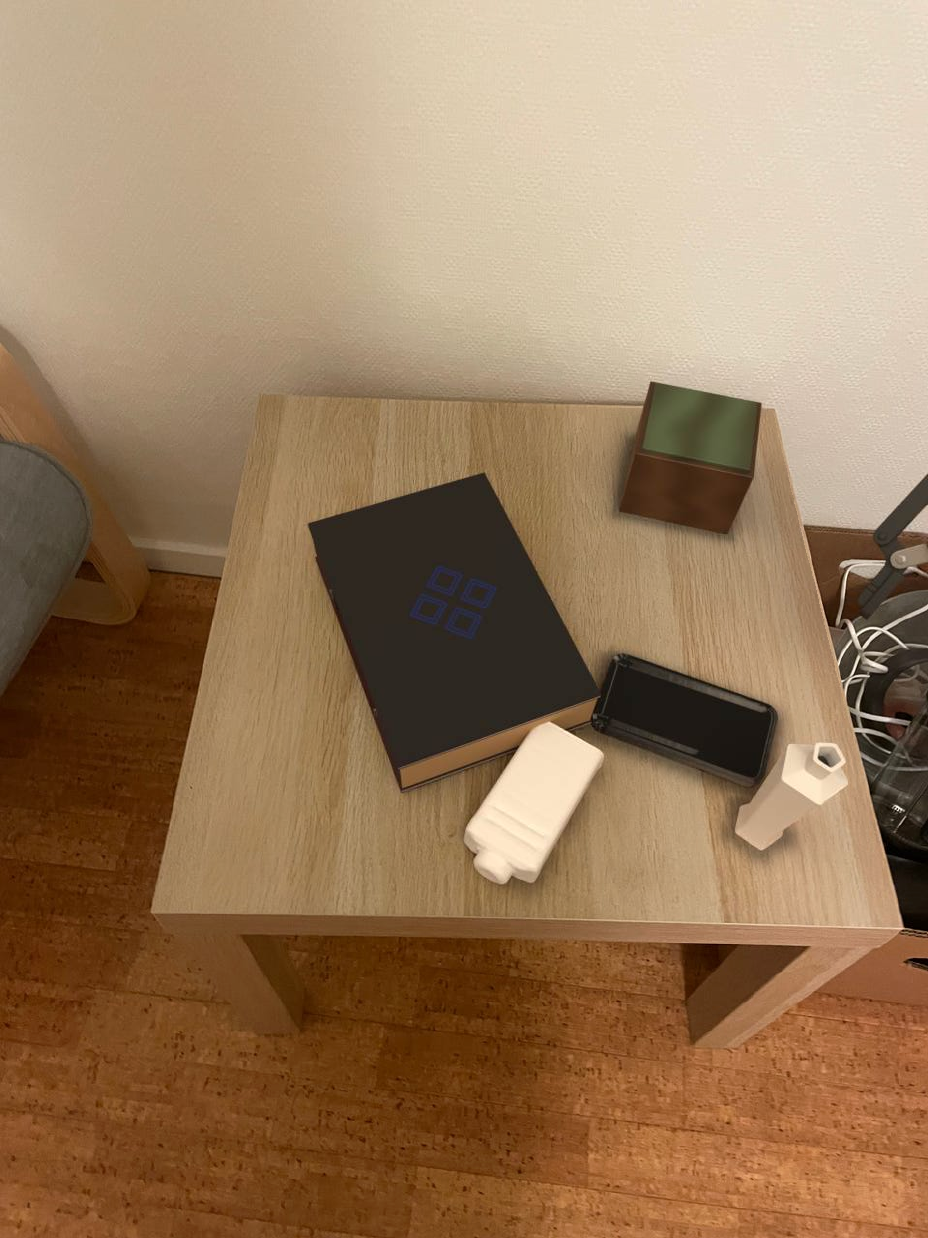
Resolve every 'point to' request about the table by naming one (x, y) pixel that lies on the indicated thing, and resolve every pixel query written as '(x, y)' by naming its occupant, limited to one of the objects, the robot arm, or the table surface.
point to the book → (449, 629)
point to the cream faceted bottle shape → (791, 791)
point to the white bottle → (531, 804)
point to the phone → (686, 719)
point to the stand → (692, 457)
